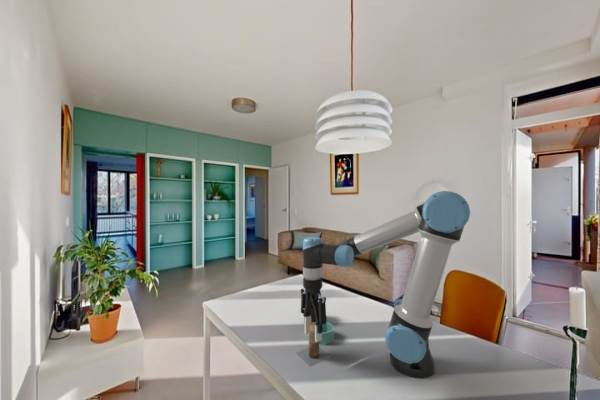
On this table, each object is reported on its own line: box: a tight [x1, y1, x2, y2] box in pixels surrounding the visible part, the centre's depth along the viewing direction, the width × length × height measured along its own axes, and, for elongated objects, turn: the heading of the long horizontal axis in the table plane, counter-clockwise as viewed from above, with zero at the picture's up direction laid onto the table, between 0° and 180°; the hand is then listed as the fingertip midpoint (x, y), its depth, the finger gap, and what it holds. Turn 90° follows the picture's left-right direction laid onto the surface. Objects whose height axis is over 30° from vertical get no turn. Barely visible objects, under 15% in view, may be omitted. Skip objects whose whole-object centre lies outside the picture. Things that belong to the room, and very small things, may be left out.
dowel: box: [308, 322, 320, 358], centre depth 98 cm, size 4×4×12 cm
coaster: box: [295, 347, 332, 367], centre depth 99 cm, size 10×10×1 cm
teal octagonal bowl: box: [319, 321, 335, 346], centre depth 111 cm, size 11×11×6 cm
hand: (313, 336), depth 99 cm, fingers open, 6 cm apart
